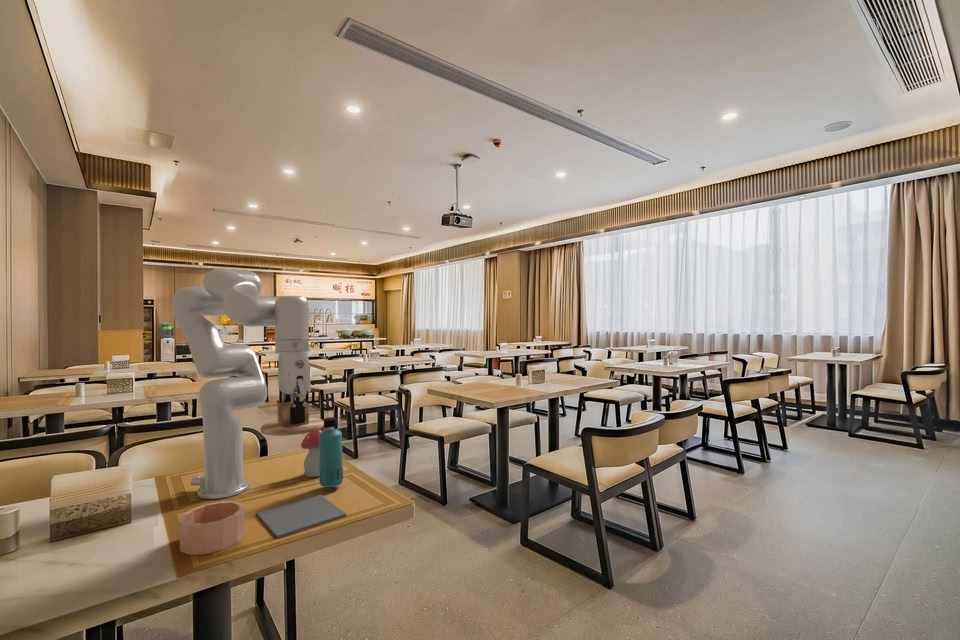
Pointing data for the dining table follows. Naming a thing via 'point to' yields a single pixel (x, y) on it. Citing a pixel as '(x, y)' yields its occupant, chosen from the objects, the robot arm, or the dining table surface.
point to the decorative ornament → (312, 453)
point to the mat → (299, 515)
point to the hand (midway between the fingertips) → (293, 420)
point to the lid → (284, 425)
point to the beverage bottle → (330, 454)
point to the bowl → (212, 527)
